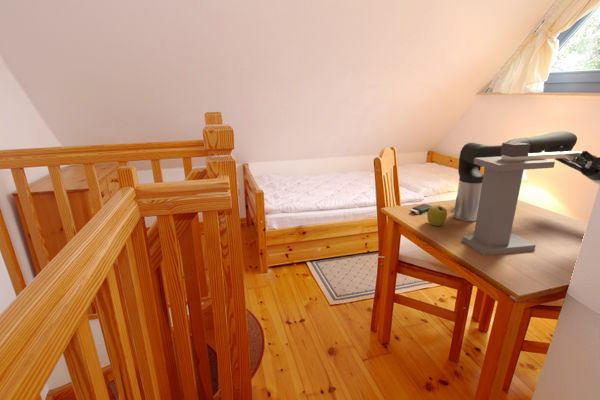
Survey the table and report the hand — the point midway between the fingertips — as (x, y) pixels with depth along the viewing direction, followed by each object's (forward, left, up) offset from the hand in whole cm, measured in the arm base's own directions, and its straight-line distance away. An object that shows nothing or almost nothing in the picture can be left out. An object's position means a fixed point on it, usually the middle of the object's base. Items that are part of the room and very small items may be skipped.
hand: (570, 150), depth 112 cm
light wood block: (-8, -7, -2) cm, 11 cm away
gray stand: (-17, -14, -34) cm, 40 cm away
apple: (-40, -4, -34) cm, 52 cm away
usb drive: (-49, +9, -34) cm, 60 cm away
